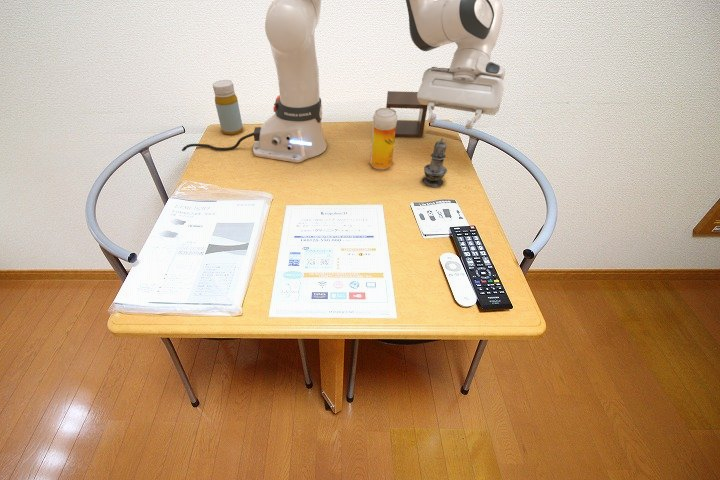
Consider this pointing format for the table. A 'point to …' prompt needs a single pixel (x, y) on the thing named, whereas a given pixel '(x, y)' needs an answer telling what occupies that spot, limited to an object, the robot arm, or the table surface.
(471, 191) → the table surface
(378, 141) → the beer can
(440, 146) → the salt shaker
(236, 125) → the bottle
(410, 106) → the shelf
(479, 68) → the robot arm
